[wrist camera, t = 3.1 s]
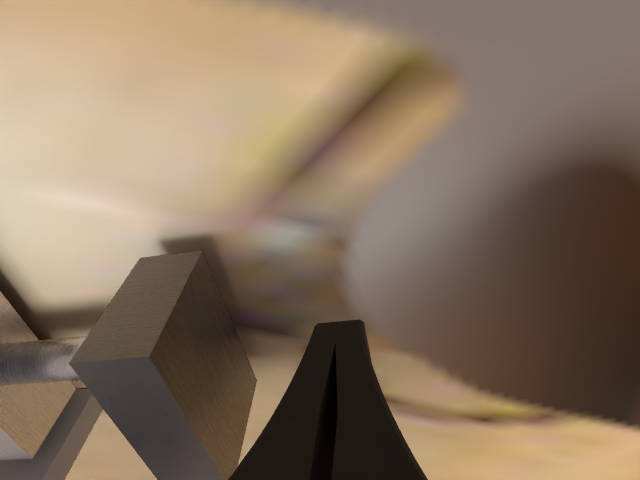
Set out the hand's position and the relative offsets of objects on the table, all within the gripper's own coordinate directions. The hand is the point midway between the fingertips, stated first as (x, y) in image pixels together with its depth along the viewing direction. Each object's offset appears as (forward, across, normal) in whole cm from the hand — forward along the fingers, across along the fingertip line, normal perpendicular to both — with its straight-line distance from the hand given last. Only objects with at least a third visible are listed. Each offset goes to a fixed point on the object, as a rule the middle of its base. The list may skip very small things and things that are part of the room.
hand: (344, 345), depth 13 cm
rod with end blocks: (+2, +9, 0) cm, 9 cm away
